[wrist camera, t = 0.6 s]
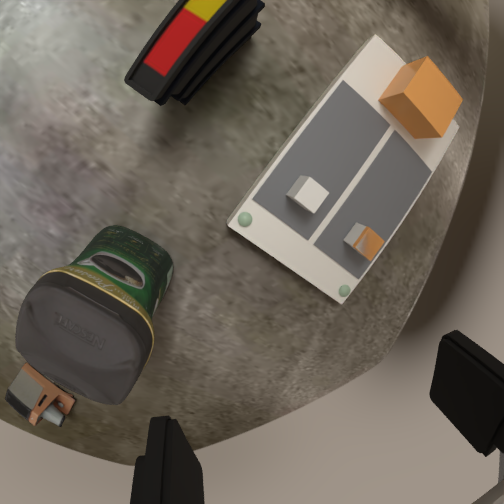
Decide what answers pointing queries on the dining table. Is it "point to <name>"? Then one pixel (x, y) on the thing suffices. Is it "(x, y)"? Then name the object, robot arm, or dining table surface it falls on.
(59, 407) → the electronic device
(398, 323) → the dining table surface
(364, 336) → the dining table surface
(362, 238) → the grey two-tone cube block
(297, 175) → the board
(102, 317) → the coffee jar
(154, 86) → the magazine
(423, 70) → the cap
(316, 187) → the lever
